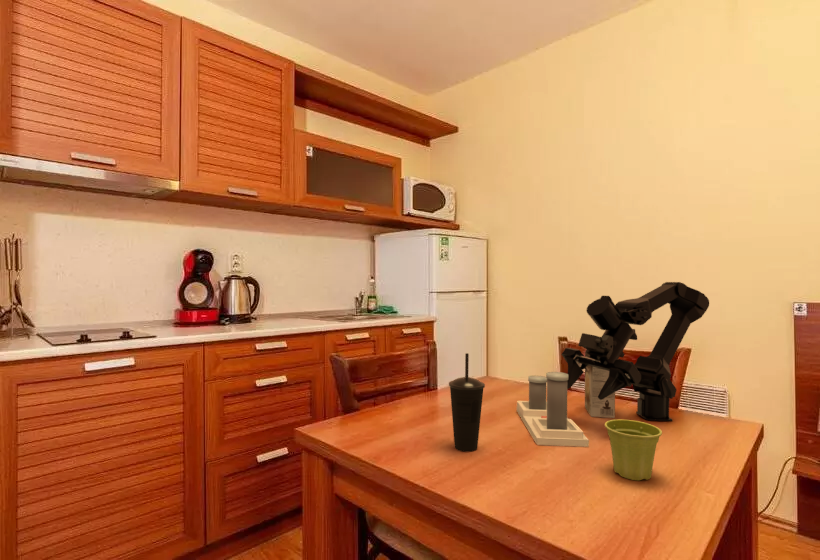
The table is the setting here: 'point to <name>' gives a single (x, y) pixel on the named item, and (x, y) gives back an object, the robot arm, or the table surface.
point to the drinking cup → (466, 410)
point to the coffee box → (597, 393)
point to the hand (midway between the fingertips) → (582, 393)
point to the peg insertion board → (536, 418)
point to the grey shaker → (557, 400)
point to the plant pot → (633, 447)
